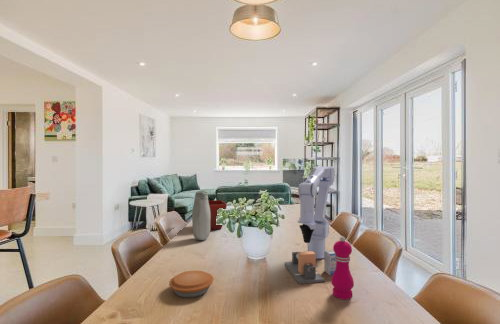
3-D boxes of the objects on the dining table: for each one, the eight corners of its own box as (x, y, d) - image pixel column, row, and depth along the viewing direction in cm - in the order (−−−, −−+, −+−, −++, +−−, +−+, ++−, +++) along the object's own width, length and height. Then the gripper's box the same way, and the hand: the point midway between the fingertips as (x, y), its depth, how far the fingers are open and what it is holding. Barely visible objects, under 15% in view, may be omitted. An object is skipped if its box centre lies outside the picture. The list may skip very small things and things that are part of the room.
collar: (298, 270, 111) (298, 252, 111) (312, 269, 112) (312, 251, 112) (300, 274, 108) (300, 254, 108) (315, 273, 109) (315, 253, 109)
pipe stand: (284, 264, 123) (284, 251, 123) (306, 262, 124) (306, 250, 124) (298, 283, 104) (298, 268, 104) (324, 281, 106) (324, 267, 106)
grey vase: (209, 242, 156) (208, 191, 155) (190, 242, 156) (190, 191, 155) (211, 237, 165) (211, 189, 165) (194, 237, 166) (194, 189, 165)
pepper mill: (336, 288, 101) (336, 232, 100) (356, 294, 96) (356, 236, 96) (327, 295, 95) (327, 237, 95) (349, 302, 90) (349, 241, 90)
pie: (169, 304, 90) (169, 289, 90) (169, 283, 105) (169, 270, 105) (217, 297, 95) (216, 282, 95) (210, 278, 110) (210, 265, 109)
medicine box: (329, 275, 111) (329, 254, 111) (323, 271, 115) (323, 250, 115) (347, 273, 113) (347, 252, 113) (340, 269, 117) (340, 248, 117)
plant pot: (194, 225, 193) (193, 201, 193) (221, 223, 199) (221, 199, 199) (197, 232, 175) (197, 205, 175) (227, 230, 181) (227, 204, 180)
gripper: (293, 208, 127) (292, 238, 127) (303, 213, 112) (303, 247, 112) (308, 207, 128) (307, 237, 128) (320, 213, 113) (320, 247, 113)
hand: (306, 242), depth 120 cm, fingers closed
